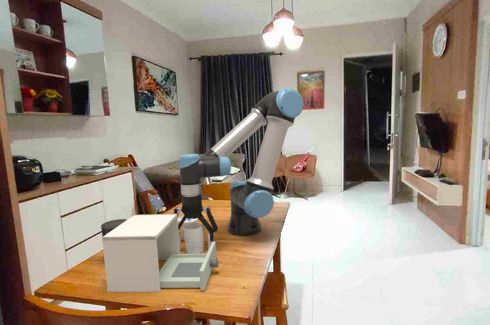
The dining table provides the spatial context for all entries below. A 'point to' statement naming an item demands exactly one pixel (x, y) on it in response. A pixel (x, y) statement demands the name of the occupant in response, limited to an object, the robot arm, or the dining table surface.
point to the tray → (188, 269)
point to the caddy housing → (139, 252)
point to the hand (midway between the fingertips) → (194, 249)
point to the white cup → (194, 238)
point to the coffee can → (111, 226)
